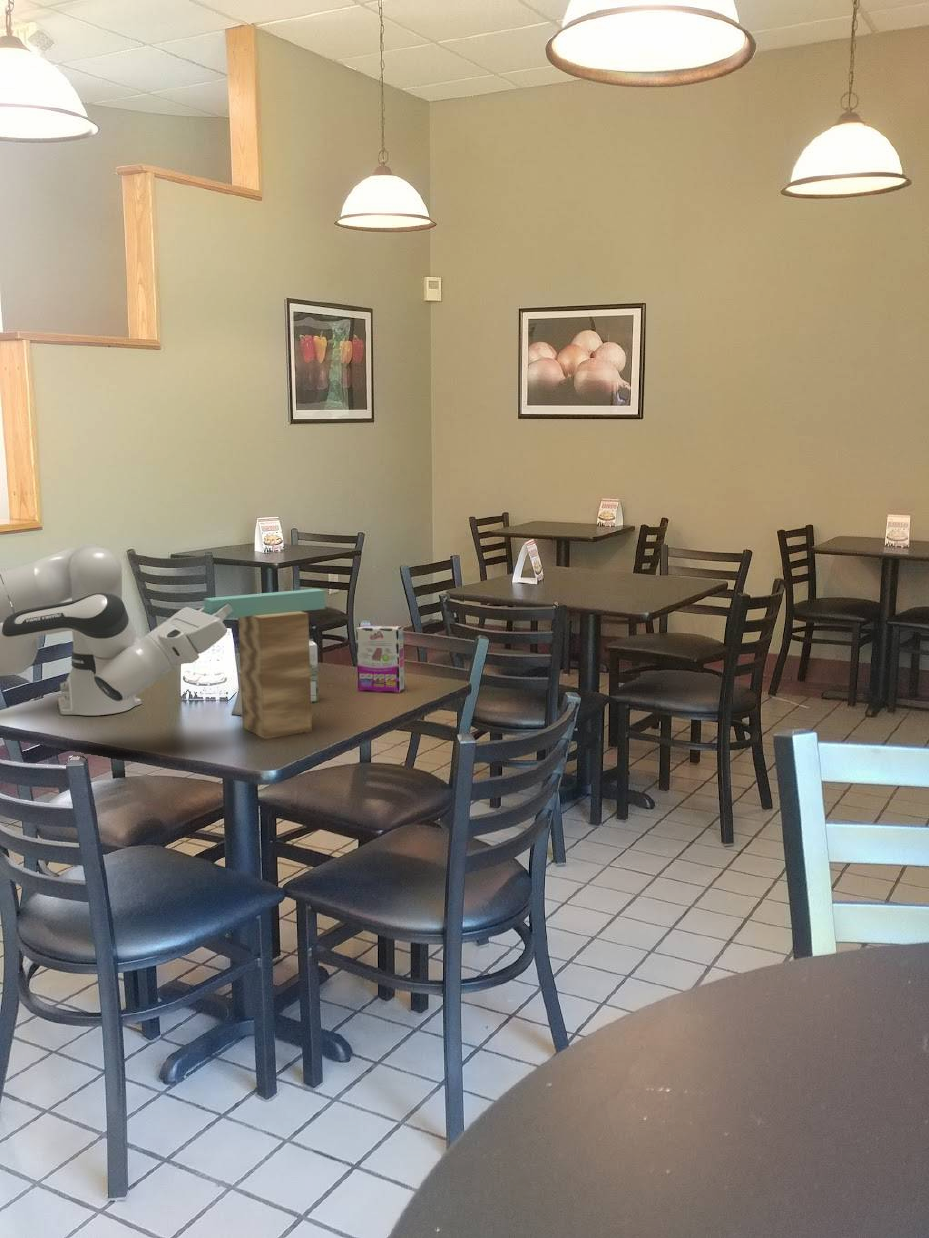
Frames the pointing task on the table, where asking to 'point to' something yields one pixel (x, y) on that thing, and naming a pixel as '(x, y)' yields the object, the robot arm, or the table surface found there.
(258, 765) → the table surface
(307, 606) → the teal block
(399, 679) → the candy bar box
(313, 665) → the syrup box
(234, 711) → the flask
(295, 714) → the oak stand
